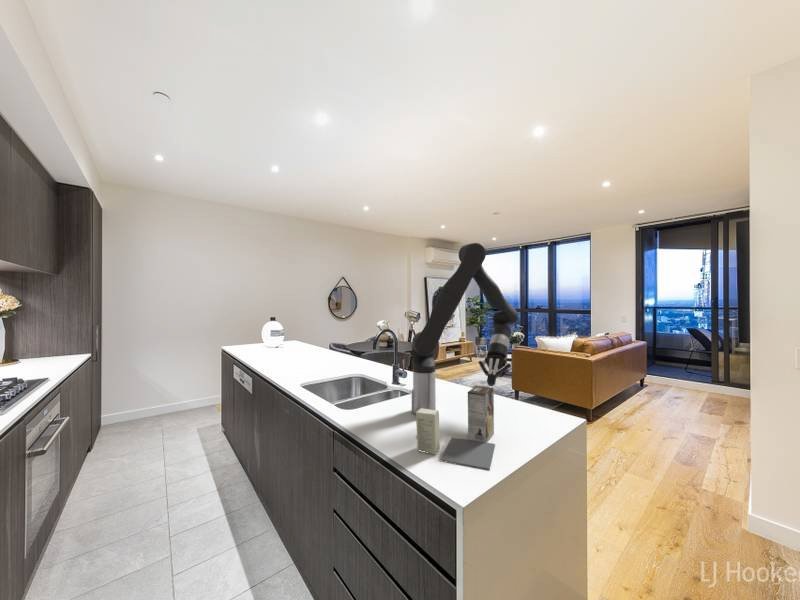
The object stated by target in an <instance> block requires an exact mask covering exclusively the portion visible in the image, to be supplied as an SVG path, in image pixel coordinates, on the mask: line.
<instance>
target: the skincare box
mask: <svg viewBox="0 0 800 600" xmlns="http://www.w3.org/2000/svg"><path fill="white" fill-rule="evenodd" d="M415 418H416V419H415V421H416V447H417V449H416V450H421V451H425V452H428V453H427V454H429V453H432V454H431V455H437V454H436V453H439V451H440V449H441V444H440V443H441V441H440V440H441V438H440V413H439V409H436V410H432V409H423V408H421V409H419V410H418V411H417V412H416V414H415Z"/></svg>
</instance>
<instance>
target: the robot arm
mask: <svg viewBox="0 0 800 600" xmlns="http://www.w3.org/2000/svg"><path fill="white" fill-rule="evenodd" d="M486 254H487V251H486V248H485V246H484V245H483V244H482V243H480V242H473V243H469V244H464V245H462V247H460V249H459V250H458V259H459V261H460V264H459V266H458V268H456V269H457V270H456V271H454V273H453V274H452V275H451V276H450V277H449V279H447V281H446V282H445V283H444V284H443V285H442V288H441V289H440V291H439V292H438V294H437V296H436V298H435V301H434V302H433V306H432V309H431V312H430V315H429V318H428V320H427V322H426V324H425V326H424V327H423V329H422V330H421V331H419V332H416V333H415V335H414V336H413V337H412V341H411V354H412V355H411V356H412V357H411V361H412V389H411V414H413V413H414V415H416V412H417V411H418V410H419V409H421V408H423V409H432V410H437V408H436V407H437V406H436V399H437V398H436V364H435V363H436V362H435V355H434V354H435V353H434V352H435V351H436V349H437V346H439V345H438V344H439V342H440V340H441V337H442V334H443V332H444V329H446V326H447V325H448V323H449V322H450V320H451V318H452V316H453V315H454V313H455V312H456V310H457V308H458V306H459V304H460V302H461V301H462V298H463V296H464V294H465V293H466V291H467V289H468V287H469V285H470V283H471V281H472V279H473V280H474V281H475V283H476V285H477V286H478V288H479V289H480V292H481V293H482V294H483V296H484V299H485V301H486V302H487V304H488V305H489V307H490V308H491V309H494V310H495V309H496V312H494V314H493V315H492V324H493V331H492V334H491V339H490V341H489V346H488V349H487V354H486V357H485V358H484V360H479V361H478V364H479V367H480V369H481V370H482V372H483V373H484V375H485V376H487V380H486V382H487V385H488V387H494V386H495V385H496V382H497V378H502V377H504V376H505V375H507V374H508V373H509V372H511V371H512V365H511V363H508V360H507V359H508V354H509V349H510V341H511V333H512V329H511V327H510V326H511V325H514V324H516V323H518V321H519V313H518V312H517V310H516V309H515V307H514V306H513V305H512V304H510V302H508V300H507V299H506V298H505V296H504V294H503V293H502V291H501V289H500V287H499V286H498V284H497V283H496V282H495V281H494V280H493V278H492V277H491V276H490V275H489V274H488V273H487V271H486V270H485V268H484V267H483V265H482V264H483V263H484V261H485V260H486ZM497 309H498V311H497ZM486 366H487V368H488V370H487V368H486Z"/></svg>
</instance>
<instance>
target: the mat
mask: <svg viewBox="0 0 800 600" xmlns="http://www.w3.org/2000/svg"><path fill="white" fill-rule="evenodd" d="M495 447H496V443H492V442H487V443H486V442H480V441H474V440H469V439H468V438H467V439H466V438H461V437H460V438H459V437H453V436H451V438H450V440H449V442H448V443H447V445H446V448H445V449H444V450H443V453H442V455H441V456H440V457H439V461H440V460H443V461H442V462H444V461H447V462H446V463H449V462H451V463H450V464H454V463H456V464H455V465H461V466H467V467H470V466H471V468H475V469H481V468H482V469H481V470H486V469H489V470H488V471H490V470H491V465H492V461H493V457H494V451H495Z"/></svg>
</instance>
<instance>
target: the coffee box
mask: <svg viewBox="0 0 800 600" xmlns="http://www.w3.org/2000/svg"><path fill="white" fill-rule="evenodd" d="M494 403H495V401H494V387H490V386H480V385H475V386H474V387H473V388H471V389H469V390H468V391H467V440H473V441H480V442H486V443H489V440H490V439H491V438H492V437H493V435H494V434H495V418H494V417H495V416H494V414H495V412H494V410H495V406H494Z"/></svg>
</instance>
